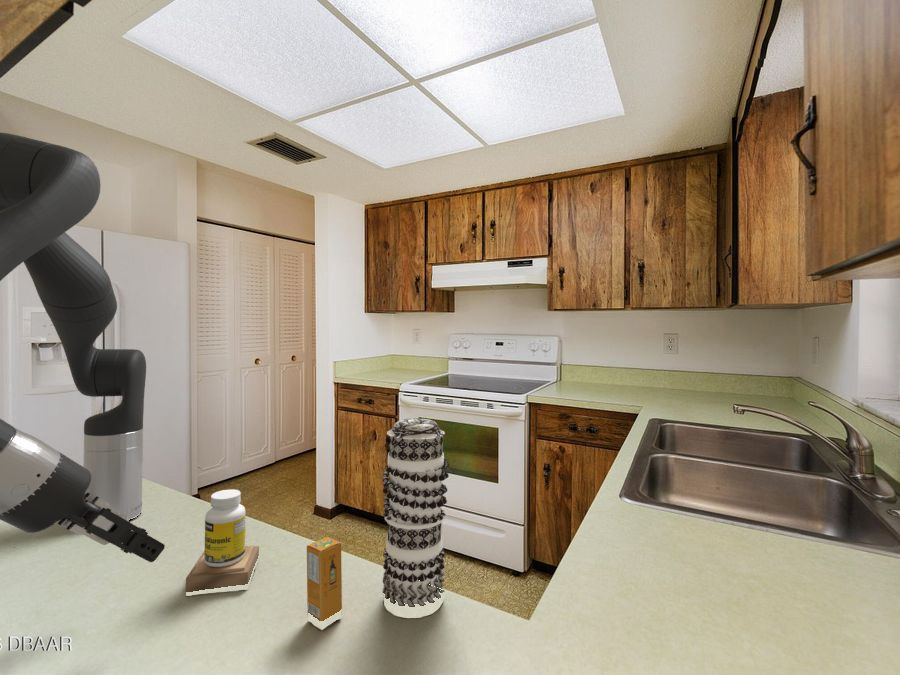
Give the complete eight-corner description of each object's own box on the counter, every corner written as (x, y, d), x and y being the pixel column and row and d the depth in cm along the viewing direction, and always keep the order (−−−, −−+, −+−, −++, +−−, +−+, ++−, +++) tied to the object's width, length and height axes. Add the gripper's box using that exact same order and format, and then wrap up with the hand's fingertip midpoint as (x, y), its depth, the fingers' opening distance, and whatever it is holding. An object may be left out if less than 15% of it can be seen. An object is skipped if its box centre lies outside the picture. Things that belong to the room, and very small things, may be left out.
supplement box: (326, 608, 59) (328, 534, 59) (342, 619, 57) (343, 542, 57) (304, 620, 56) (306, 543, 56) (320, 632, 54) (321, 552, 54)
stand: (185, 596, 61) (186, 575, 61) (204, 567, 69) (204, 547, 69) (247, 590, 63) (247, 569, 63) (258, 561, 70) (259, 543, 70)
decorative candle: (454, 614, 58) (458, 426, 58) (384, 626, 55) (388, 429, 55) (437, 577, 67) (440, 414, 67) (376, 586, 64) (379, 416, 64)
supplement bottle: (195, 566, 63) (196, 498, 63) (221, 548, 69) (222, 486, 69) (228, 570, 62) (229, 501, 62) (252, 552, 68) (253, 489, 68)
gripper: (82, 459, 45) (193, 530, 55) (31, 440, 52) (137, 506, 62) (10, 529, 40) (145, 593, 50) (-35, 498, 48) (91, 559, 57)
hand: (141, 544), depth 56 cm, fingers open, 8 cm apart
